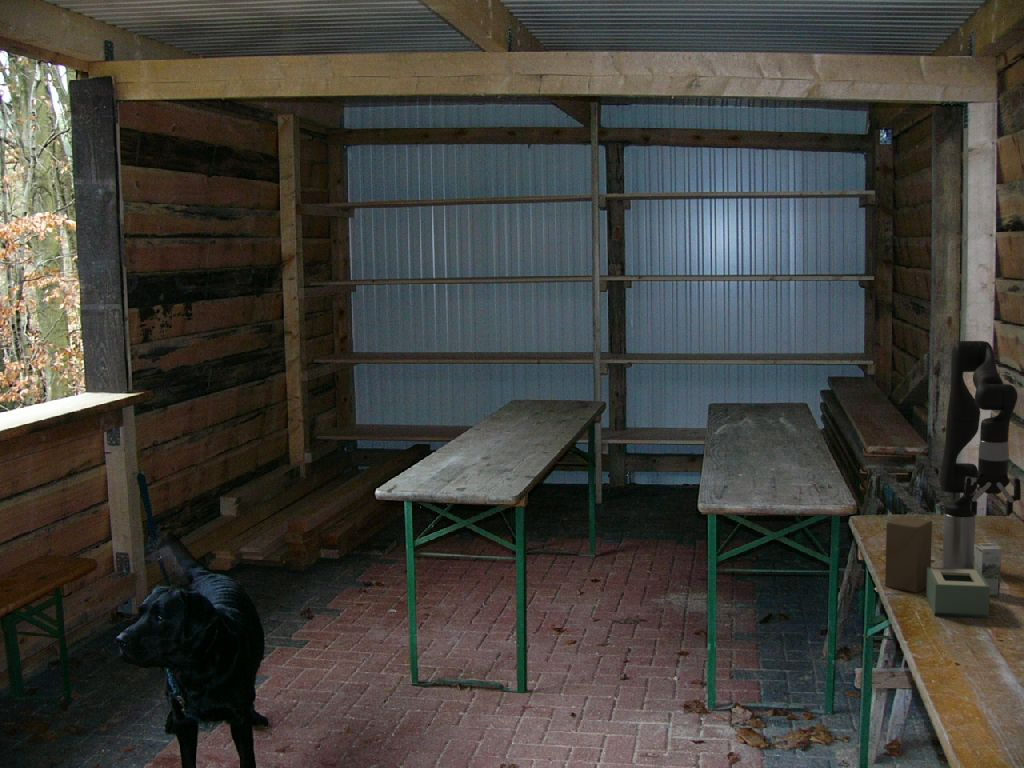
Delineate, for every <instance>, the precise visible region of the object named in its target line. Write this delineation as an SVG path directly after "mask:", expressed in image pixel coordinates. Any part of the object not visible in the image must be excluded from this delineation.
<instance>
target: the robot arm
mask: <svg viewBox="0 0 1024 768" xmlns="http://www.w3.org/2000/svg"><path fill="white" fill-rule="evenodd" d="M950 362H951V363H950V365H951V366H950V391H949V398H948V406H947V413H946V423H945V425H946V426H945V427H946V428H945V441H944V442H945V443H944V450H943V454H942V455H943V456H942V461H941V466H940V473H939V485H940V488H941V490H942V491H943V493H948V494H949V493H953V494H954V493H957V494H963V495H962V496H960V497H959V498H957V499H954V500H951V501H948V502H946V503H945V504H944V508H943V535H942V536H943V538H942V539H943V541H942V568H959V569H973V561H974V544H976V543H975V542H976V541H975V540H976V519H977V518H976V517H977V515H978V499H980V497H981V496H982V495H983V494H986V495H987V494H995V495H1000V493H1002V495H1003V496H1004V497H1005V498H1006V500H1005V515H1006V516H1008V517H1009V516H1010V515H1011V514H1012V513H1013V511H1014V509H1013V508H1014V502H1016V501H1021V498H1022V492H1021V491H1022V489H1021V479H1020V478H1018V476H1014V478H1013V477H1011V478H1009V475H1008V474H1009V457H1010V451H1009V450H1010V449H1009V447H1010V446H1009V431H1010V428H1009V427H1010V424H1011V419H1012V416H1013V413H1014V410H1015V408H1016V405H1017V402H1018V391H1017V389H1016V388H1015V386H1014V385H1012V384H1009V383H1006V384H1005V383H1004V382H1003V380H1002V378H1001V376H1000V374H999V372H998V368H997V362H996V358H995V353H994V349H993V347H992V345H991V343H990V342H988V341H985V340H958V341H956V342H954V343H953V347H952V350H951V361H950ZM964 373H973V374H972V382H973V386H974V387H975V392H974V393H975V394H974V396H973V394H972V393H971V391H970V390H969V387H967V384H966V382H965V380H964ZM981 410H984V411H1000V412H999V413H998V414H997V415H996V416H991V417H987V418H983V419H982V420H981V422H980V419H981V418H980V417H981ZM979 427H980V431H979ZM978 431H979V432H980V435H979V439H980V440H979V445H978V459H977V460H978V461H977V462H978V463H977V466H976V464H974V463H965V462H963V463H962V462H961V463H960V462H956V461H957V458H958V457H959V455H960V454H961V452H962V451H963V450H964V448H966V446H967V445H968V444H969V443H971V441H972V440H973V439H974V438H975V436H976V435H977V433H978ZM1009 484H1010V485H1011V486H1012V487H1013V495H1011V494H1010V493H1009V492H1008V491H1007V489H1006V487H1007V486H1008V485H1009Z"/></svg>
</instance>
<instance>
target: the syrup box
mask: <svg viewBox="0 0 1024 768" xmlns="http://www.w3.org/2000/svg"><path fill="white" fill-rule="evenodd" d="M1002 552H1003V551H1002V548H1001V547H1000V546H998V545H997V543H996V544H995V543H993V542H992V543H991V542H990V543H988V542H985V543H975V544H974V561H973V569H979V571H980V573H981V574H982V576H983V577H984V579H985V580H986V582H987V583H988V585H989V586H990V596H989V597H993V596H996V597H997V596H1000V591H1001V589H1000V588H1001V570H1002V555H1003V554H1002Z"/></svg>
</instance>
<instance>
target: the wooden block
mask: <svg viewBox="0 0 1024 768" xmlns="http://www.w3.org/2000/svg"><path fill="white" fill-rule="evenodd" d="M885 532H886V533H885V535H886V536H885V574H884V577H885V579H884V581H885V582H884V583H885V584H884V585H885V587H886V588H887V587H888V588H891V589H898V590H901V591H905V592H906V591H907V592H911V593H918V592H920V591H922V590H924V589H926V585H927V567H932V539H933V538H932V535H933V533H932V532H933V522H932V520H929V519H924V518H917V517H913V516H911V517H910V516H906V515H905V516H904V515H899V516H897V517H894V518H893V519H891V520H889V521H887V522H886V531H885Z"/></svg>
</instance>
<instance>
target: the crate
mask: <svg viewBox="0 0 1024 768" xmlns="http://www.w3.org/2000/svg"><path fill="white" fill-rule="evenodd" d="M925 589H926V591H925V599H926V600H927V602H928V604H929V606H930V608H931V611H932V613H933V615H934V616H935V617H946V618H948V617H951V618H968V619H970V618H972V619H989V617H990V597H991V596H990V586H989V585H988V583H987V582H986V580H985V579H984V577H983V576H982V574H981V573H980V571H979V569H959V568H945V567H932V566H931V567H927V585H926V587H925Z"/></svg>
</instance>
